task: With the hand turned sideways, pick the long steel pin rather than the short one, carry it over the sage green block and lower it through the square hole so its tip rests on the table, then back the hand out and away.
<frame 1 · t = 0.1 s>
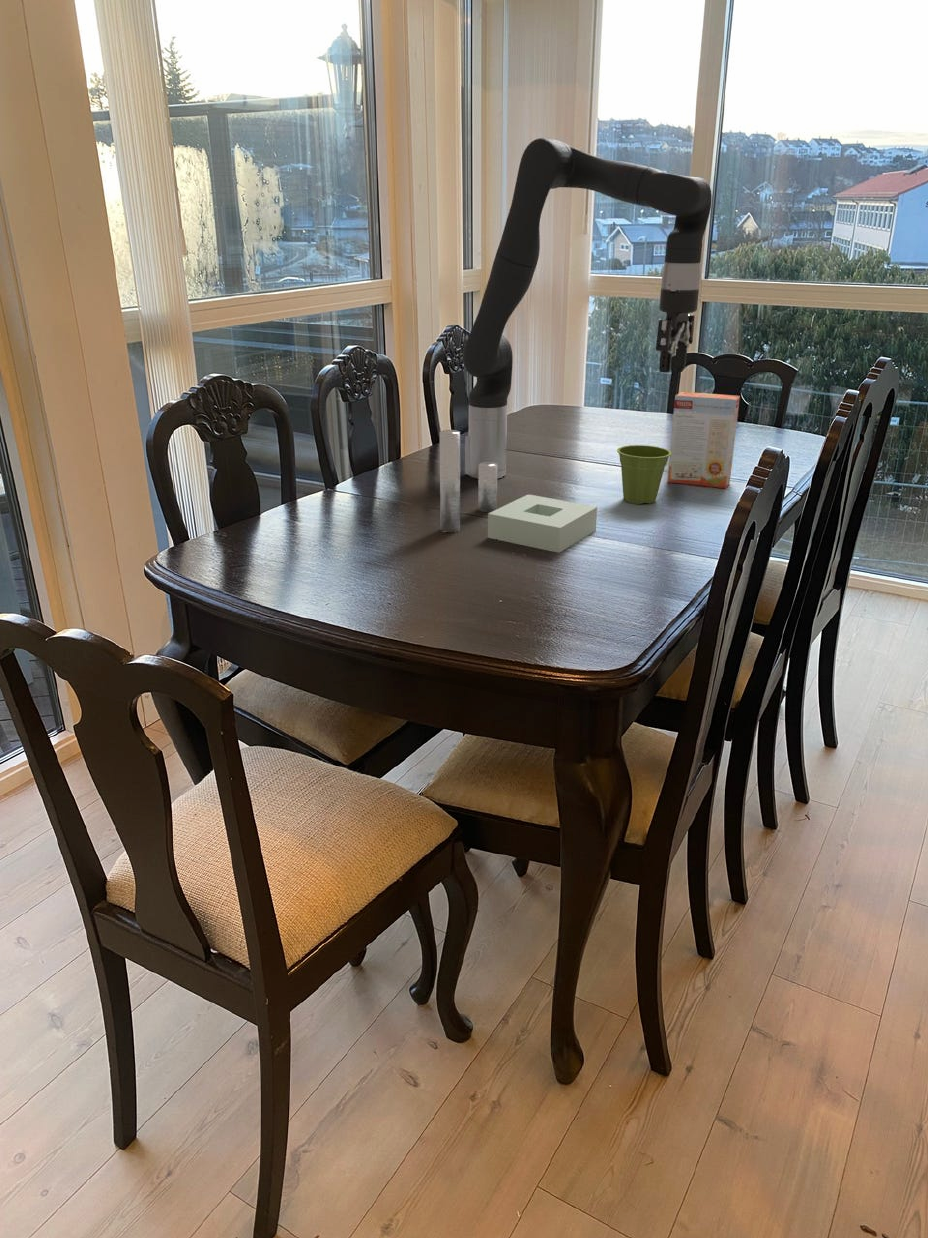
hand: (672, 369, 189), 29 cm above the table, tool pointing down, fingers open, 8 cm apart
long steel pin: (450, 529, 184), on the table
hole block: (542, 533, 182), on the table
plant pot: (639, 500, 204), on the table
cracker box: (698, 483, 217), on the table
short steel pin: (487, 509, 197), on the table
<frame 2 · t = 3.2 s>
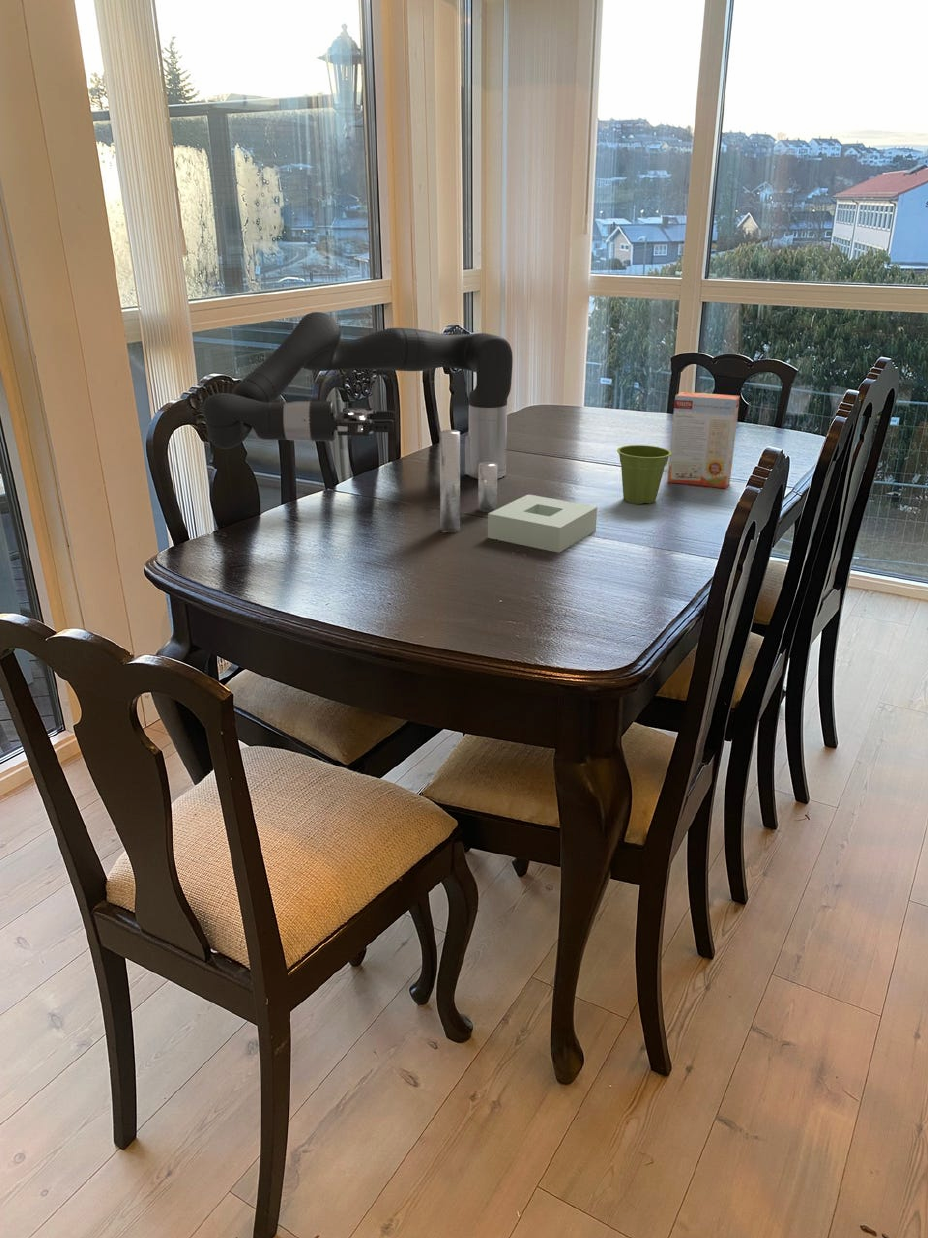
hand: (394, 421, 175), 22 cm above the table, tool horizontal, fingers open, 8 cm apart
nothing on the table moved.
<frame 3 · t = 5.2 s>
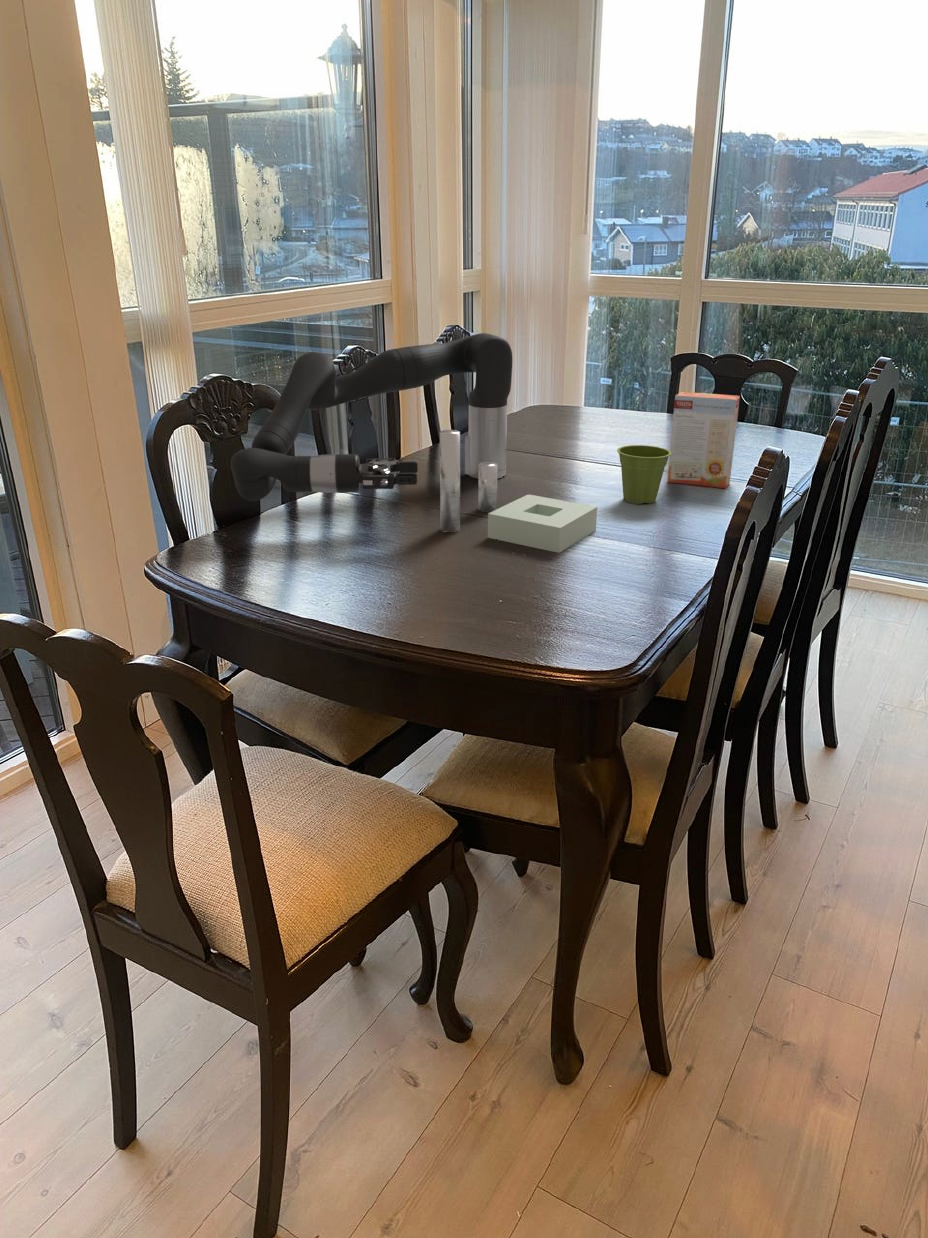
hand: (417, 472, 179), 12 cm above the table, tool horizontal, fingers open, 8 cm apart
nothing on the table moved.
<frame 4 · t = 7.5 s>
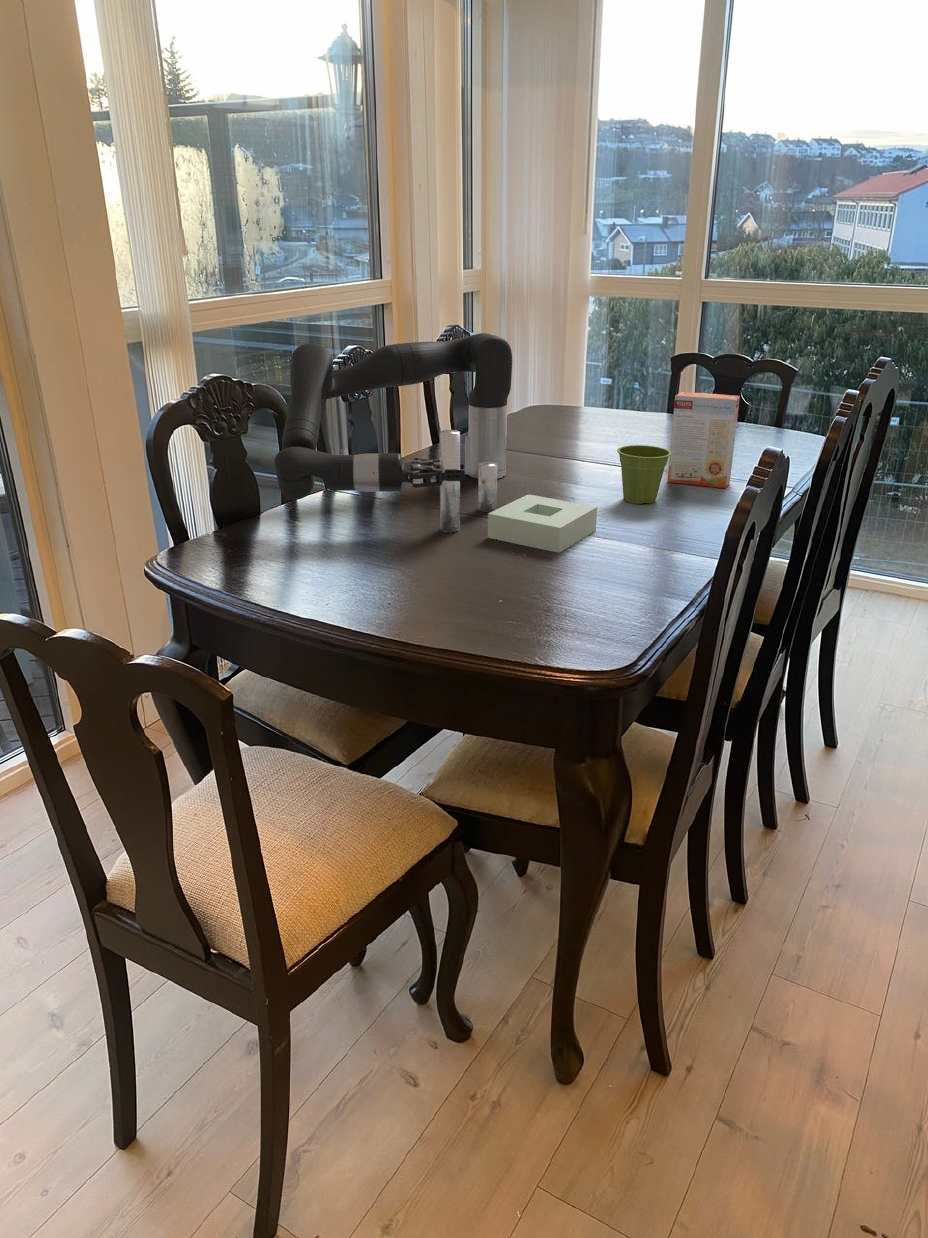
hand: (463, 471, 180), 12 cm above the table, tool horizontal, fingers closed on long steel pin, 4 cm apart
long steel pin: (450, 529, 184), on the table, touching gripper
everything else where it was.
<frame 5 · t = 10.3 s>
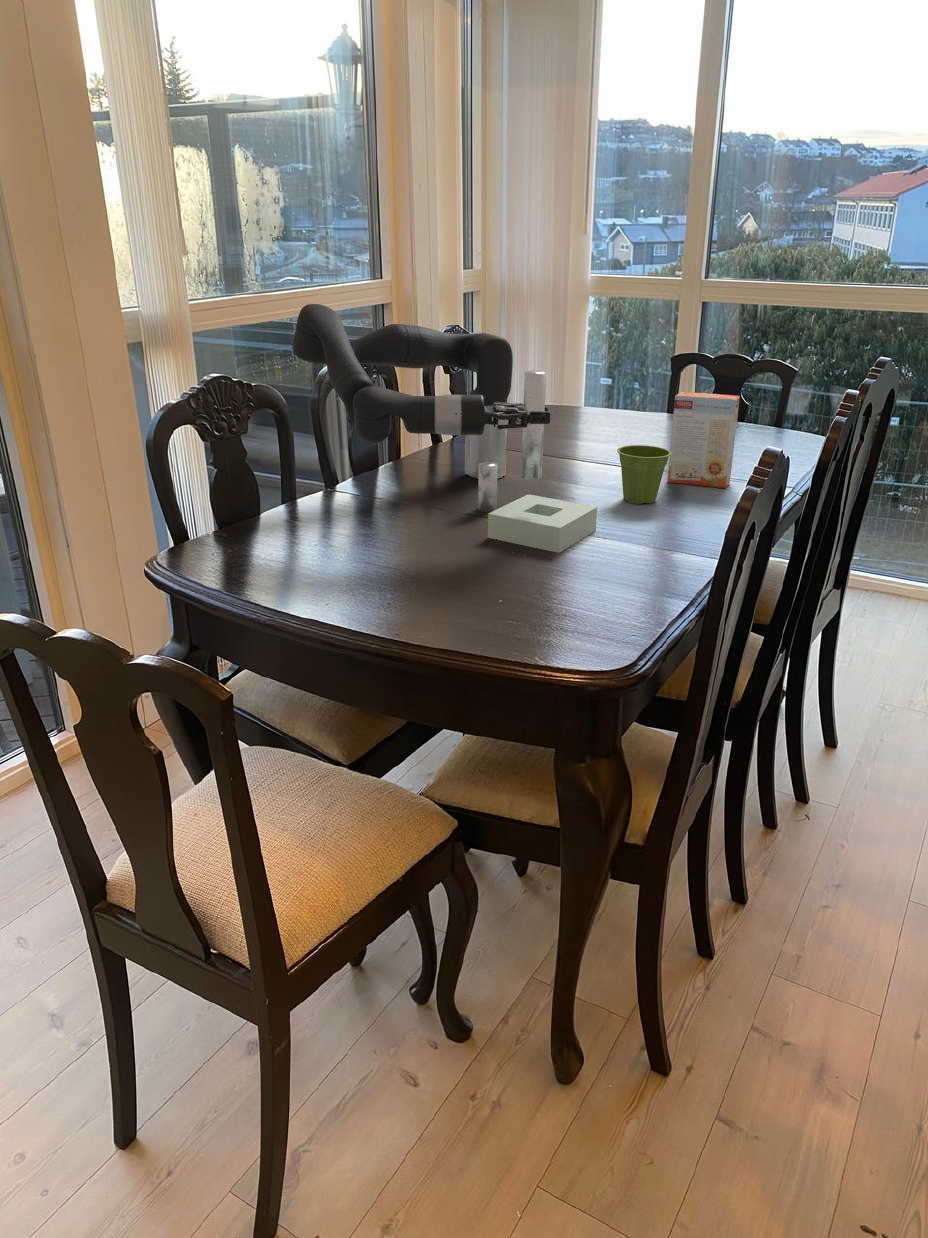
hand: (548, 415, 173), 24 cm above the table, tool horizontal, fingers closed on long steel pin, 4 cm apart
long steel pin: (531, 476, 177), point 12 cm above the table, touching gripper
everything else where it was.
when the fingers open (13 cm above the table, at t = 13.4 s): long steel pin drops 1 cm, resting in hole block.
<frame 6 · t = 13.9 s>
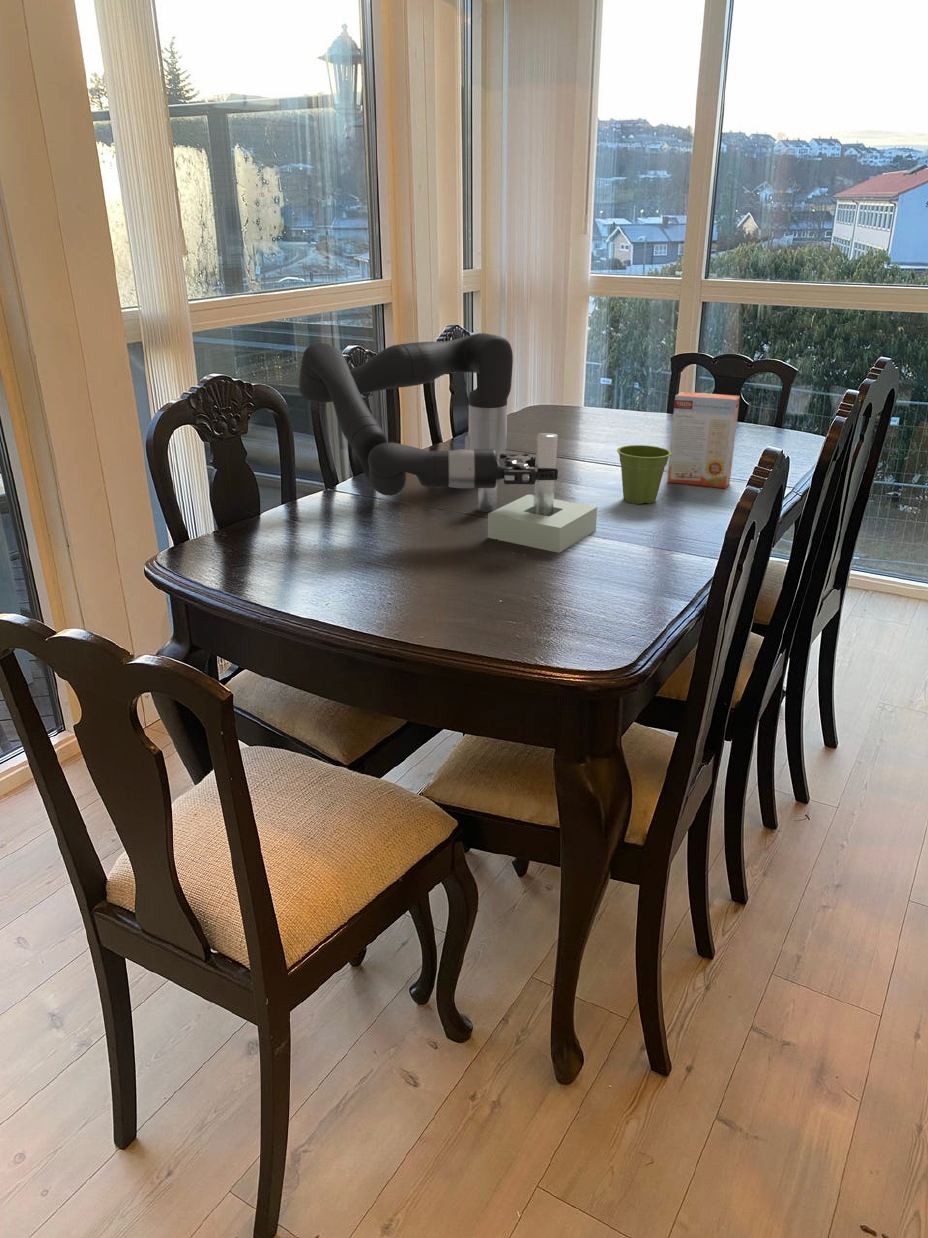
hand: (554, 468, 177), 14 cm above the table, tool horizontal, fingers open, 8 cm apart
long steel pin: (541, 533, 182), resting in hole block
everything else where it was.
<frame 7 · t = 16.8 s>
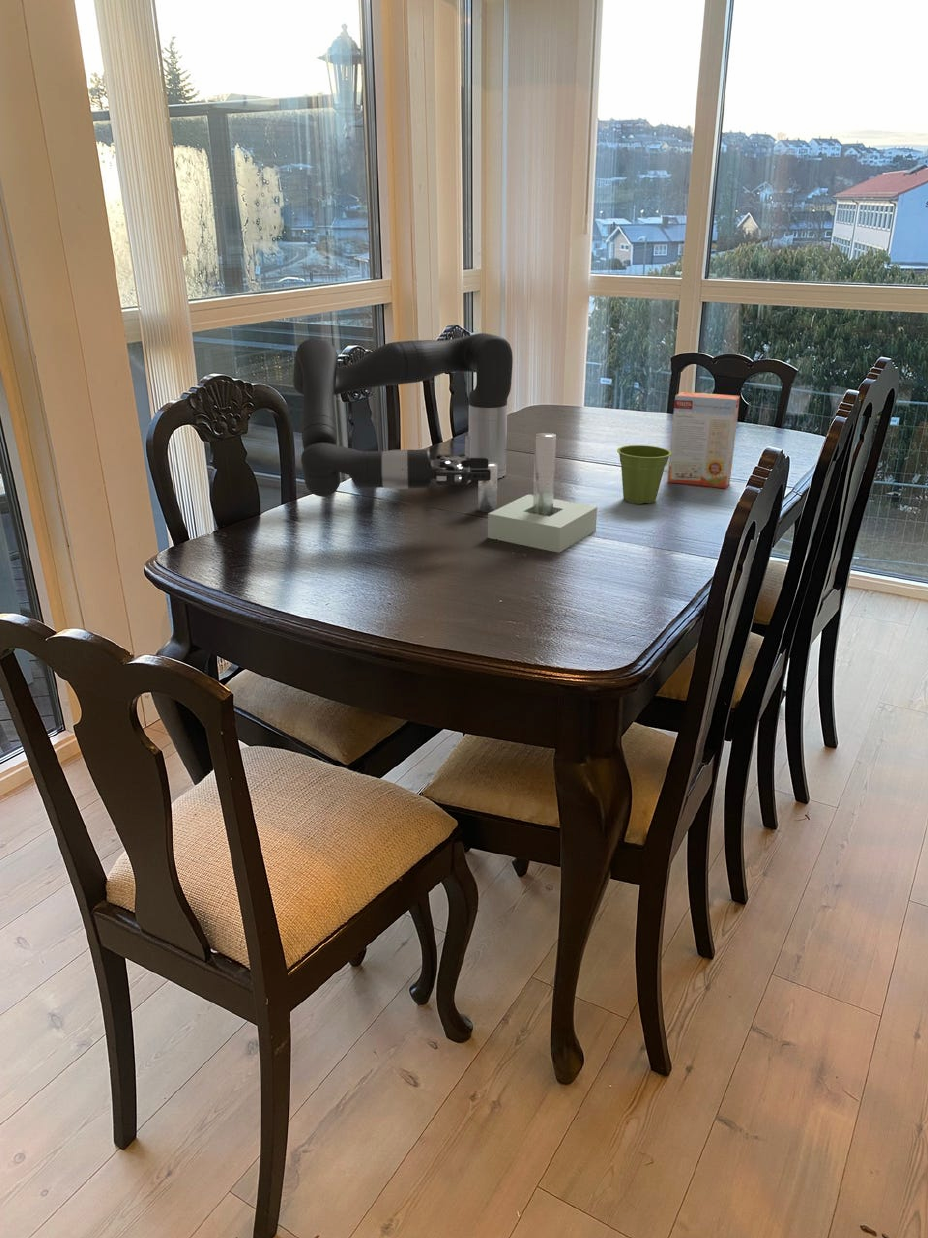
hand: (489, 468, 176), 13 cm above the table, tool horizontal, fingers open, 8 cm apart
nothing on the table moved.
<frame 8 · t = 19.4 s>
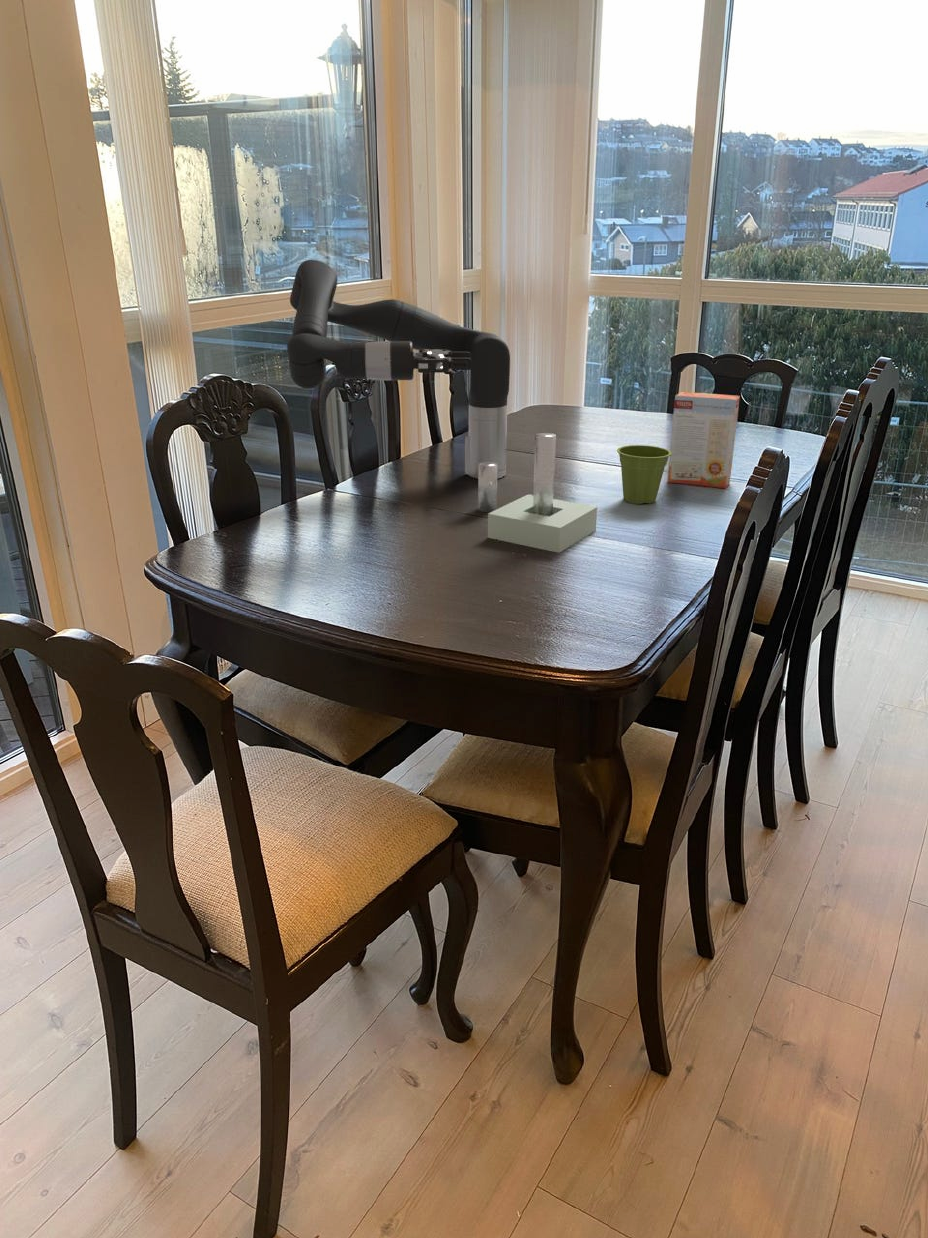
hand: (470, 360, 181), 32 cm above the table, tool horizontal, fingers open, 8 cm apart
nothing on the table moved.
at the end: long steel pin 0.1 cm off-centre on the hole block, point 0.0 cm above the hole block's base; long steel pin tilted 0°; short steel pin moved 0.0 cm from its start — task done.
